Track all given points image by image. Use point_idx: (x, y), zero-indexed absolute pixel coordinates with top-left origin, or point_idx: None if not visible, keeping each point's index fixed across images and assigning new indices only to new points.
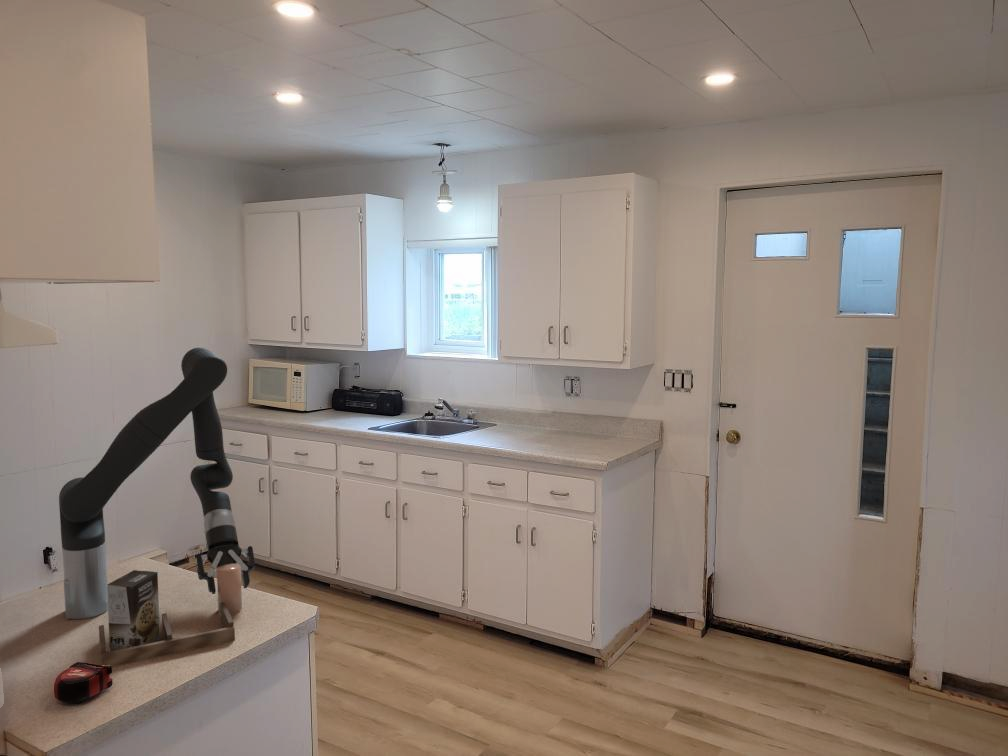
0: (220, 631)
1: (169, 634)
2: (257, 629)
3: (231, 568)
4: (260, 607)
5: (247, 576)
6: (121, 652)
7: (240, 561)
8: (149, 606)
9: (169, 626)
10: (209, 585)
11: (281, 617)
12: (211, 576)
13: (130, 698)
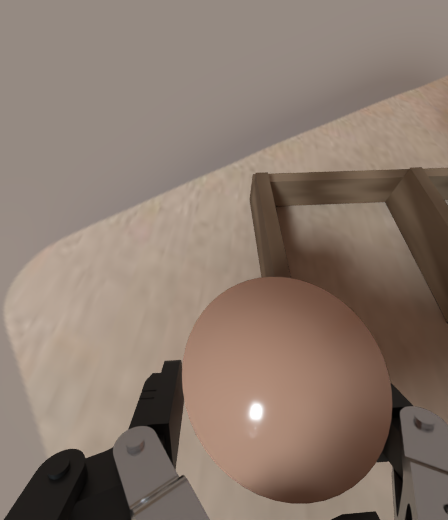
0: (287, 175)
1: (418, 169)
2: (189, 227)
3: (264, 341)
4: (139, 370)
5: (146, 407)
6: None
7: (157, 504)
8: None
9: (436, 207)
10: None
11: (108, 266)
12: (402, 411)
13: (409, 108)
